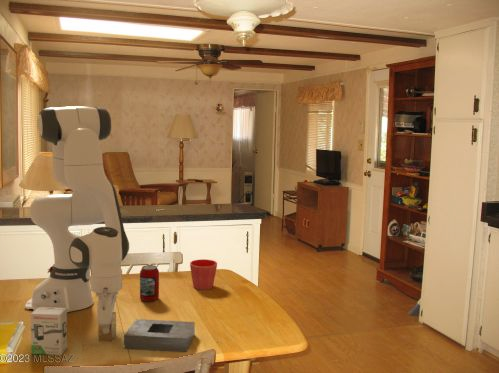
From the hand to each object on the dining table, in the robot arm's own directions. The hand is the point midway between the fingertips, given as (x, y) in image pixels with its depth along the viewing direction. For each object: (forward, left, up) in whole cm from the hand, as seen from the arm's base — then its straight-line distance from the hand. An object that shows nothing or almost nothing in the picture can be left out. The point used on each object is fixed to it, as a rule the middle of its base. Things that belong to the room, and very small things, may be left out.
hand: (107, 328), depth 150 cm
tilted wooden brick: (0, 0, -3) cm, 3 cm away
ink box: (-13, -10, -3) cm, 17 cm away
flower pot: (+20, +52, -3) cm, 56 cm away
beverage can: (+3, +35, -3) cm, 35 cm away
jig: (+16, 0, -3) cm, 16 cm away
